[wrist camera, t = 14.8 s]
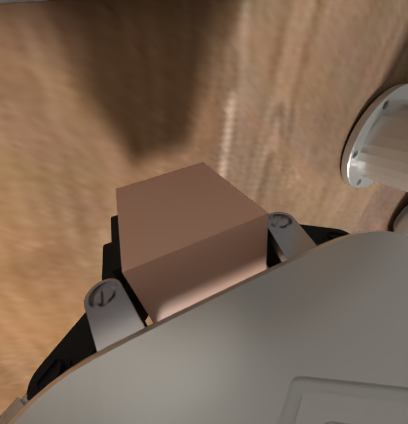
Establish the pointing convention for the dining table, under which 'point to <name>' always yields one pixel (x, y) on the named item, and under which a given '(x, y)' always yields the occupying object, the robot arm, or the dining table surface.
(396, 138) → the robot arm
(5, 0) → the track
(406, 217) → the cereal bowl
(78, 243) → the dining table surface
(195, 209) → the block
